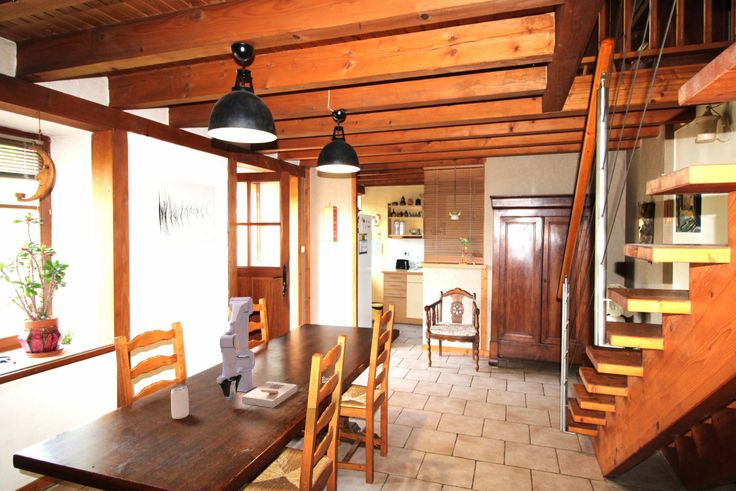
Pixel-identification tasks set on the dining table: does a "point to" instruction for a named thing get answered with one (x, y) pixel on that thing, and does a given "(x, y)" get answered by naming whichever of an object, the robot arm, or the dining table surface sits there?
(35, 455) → the dining table surface
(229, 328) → the robot arm
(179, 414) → the can
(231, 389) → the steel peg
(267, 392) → the block
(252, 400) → the plate
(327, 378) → the adjustable wrench
